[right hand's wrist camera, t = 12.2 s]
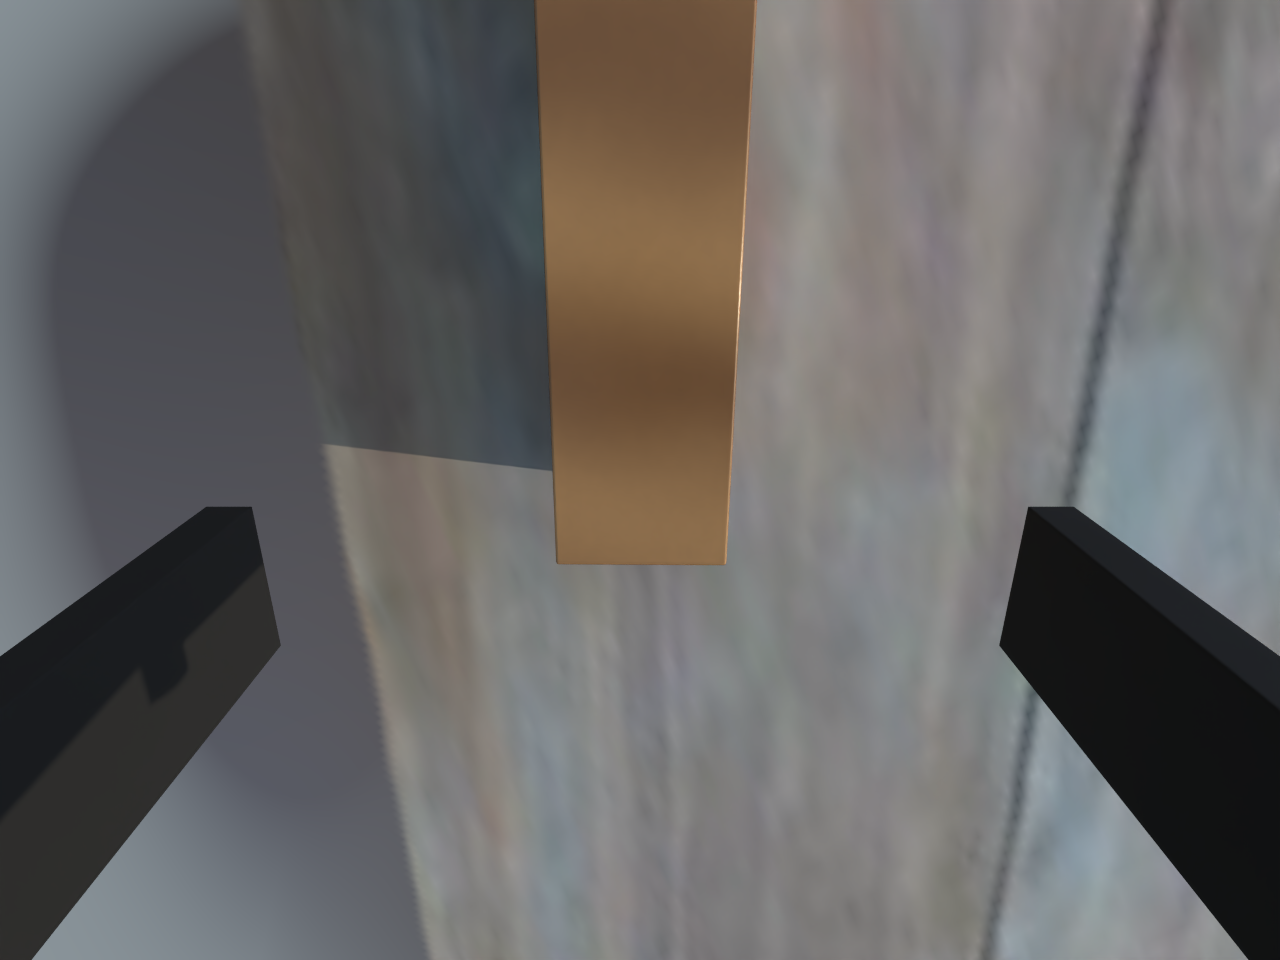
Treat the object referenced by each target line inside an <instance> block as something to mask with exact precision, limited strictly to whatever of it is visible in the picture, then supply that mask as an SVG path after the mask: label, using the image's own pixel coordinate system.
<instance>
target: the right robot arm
mask: <svg viewBox="0 0 1280 960" xmlns="http://www.w3.org/2000/svg"><path fill="white" fill-rule="evenodd" d="M999 646H1000V647H1001V648H1002V649H1003V651H1004V652H1005V653H1006V654H1007V656H1008V657H1009V658H1010V660H1011V661H1012V662H1013V663H1014V665H1015V666H1016V667H1017V668H1018V670H1019V671H1020V672H1021V673H1022V675H1023V676H1024V677H1025V678H1026V680H1027V681H1028V682H1029V683H1030V685H1031V686H1032V687H1033V689H1034V690H1035V691H1036V692H1037V694H1038V695H1039V696H1040V697H1041V699H1042V700H1043V701H1044V702H1045V704H1046V705H1047V706H1048V707H1049V709H1050V710H1051V711H1052V713H1053V714H1054V715H1055V716H1056V718H1057V719H1058V720H1059V721H1060V723H1061V724H1062V725H1063V726H1064V728H1065V729H1066V730H1067V731H1068V733H1069V734H1070V735H1071V736H1072V738H1073V739H1074V740H1075V742H1076V743H1077V744H1078V745H1079V747H1080V748H1081V749H1082V750H1083V752H1084V753H1085V754H1086V755H1087V757H1088V758H1089V759H1090V760H1091V762H1092V763H1093V764H1094V765H1095V767H1096V768H1097V769H1098V771H1099V772H1100V773H1101V774H1102V776H1103V777H1104V778H1105V779H1106V781H1107V782H1108V783H1109V784H1110V786H1111V787H1112V788H1113V789H1114V791H1115V792H1116V793H1117V794H1118V796H1119V797H1120V798H1121V800H1122V801H1123V802H1124V803H1125V805H1126V806H1127V807H1128V808H1129V810H1130V811H1131V812H1132V813H1133V815H1134V816H1135V817H1136V818H1137V820H1138V821H1139V822H1140V823H1141V825H1142V826H1143V827H1144V829H1145V830H1146V831H1147V832H1148V834H1149V835H1150V836H1151V837H1152V839H1153V840H1154V841H1155V842H1156V844H1157V845H1158V846H1159V847H1160V849H1161V850H1162V851H1163V853H1164V854H1165V855H1166V856H1167V858H1168V859H1169V860H1170V861H1171V863H1172V864H1173V865H1174V866H1175V868H1176V869H1177V870H1178V871H1179V873H1180V874H1181V875H1182V876H1183V878H1184V879H1185V880H1186V882H1187V883H1188V884H1189V885H1190V887H1191V888H1192V889H1193V890H1194V892H1195V893H1196V894H1197V895H1198V897H1199V898H1200V899H1201V900H1202V902H1203V903H1204V904H1205V905H1206V907H1207V908H1208V909H1209V911H1210V912H1211V913H1212V914H1213V916H1214V917H1215V918H1216V919H1217V921H1218V922H1219V923H1220V924H1221V926H1222V927H1223V928H1224V929H1225V931H1226V932H1227V933H1228V934H1229V936H1230V937H1231V938H1232V940H1233V941H1234V942H1235V943H1236V945H1237V946H1238V947H1239V948H1240V950H1241V951H1242V952H1243V953H1244V955H1245V956H1246V957H1247V958H1248V960H1280V656H1279V655H1277V654H1276V653H1274V652H1273V651H1272V650H1270V649H1269V648H1267V647H1266V646H1265V645H1263V644H1262V643H1261V642H1259V641H1258V640H1256V639H1255V638H1254V637H1252V636H1251V635H1250V634H1248V633H1247V632H1245V631H1244V630H1243V629H1241V628H1240V627H1239V626H1237V625H1236V624H1234V623H1233V622H1232V621H1230V620H1229V619H1228V618H1226V617H1225V616H1223V615H1222V614H1221V613H1219V612H1218V611H1217V610H1215V609H1214V608H1212V607H1211V606H1210V605H1208V604H1207V603H1205V602H1204V601H1203V600H1201V599H1200V598H1199V597H1197V596H1196V595H1194V594H1193V593H1192V592H1190V591H1189V590H1188V589H1186V588H1185V587H1183V586H1182V585H1181V584H1179V583H1178V582H1177V581H1175V580H1174V579H1172V578H1171V577H1170V576H1168V575H1167V574H1166V573H1164V572H1163V571H1161V570H1160V569H1159V568H1157V567H1156V566H1154V565H1153V564H1152V563H1150V562H1149V561H1148V560H1146V559H1145V558H1143V557H1142V556H1141V555H1139V554H1138V553H1137V552H1135V551H1134V550H1132V549H1131V548H1130V547H1128V546H1127V545H1126V544H1124V543H1123V542H1121V541H1120V540H1119V539H1117V538H1116V537H1115V536H1113V535H1112V534H1110V533H1109V532H1108V531H1106V530H1105V529H1103V528H1102V527H1101V526H1099V525H1098V524H1097V523H1095V522H1094V521H1092V520H1091V519H1090V518H1088V517H1087V516H1086V515H1084V514H1083V513H1081V512H1080V511H1079V510H1077V509H1076V508H1075V507H1028V511H1027V516H1026V520H1025V525H1024V530H1023V535H1022V540H1021V544H1020V549H1019V554H1018V559H1017V563H1016V568H1015V573H1014V578H1013V583H1012V587H1011V592H1010V597H1009V602H1008V606H1007V611H1006V616H1005V621H1004V626H1003V630H1002V635H1001V640H1000V645H999ZM279 647H280V640H279V635H278V631H277V626H276V621H275V616H274V611H273V606H272V602H271V597H270V592H269V587H268V583H267V578H266V573H265V568H264V563H263V559H262V554H261V549H260V545H259V540H258V535H257V530H256V525H255V520H254V516H253V511H252V507H205V508H204V509H203V510H201V511H200V512H199V513H197V514H196V515H194V516H193V517H192V518H190V519H189V520H188V521H186V522H185V523H183V524H182V525H181V526H179V527H178V528H177V529H175V530H174V531H172V532H171V533H170V534H168V535H167V536H165V537H164V538H163V539H161V540H160V541H159V542H157V543H156V544H154V545H153V546H152V547H150V548H149V549H148V550H146V551H145V552H143V553H142V554H141V555H139V556H138V557H137V558H135V559H134V560H132V561H131V562H130V563H128V564H127V565H126V566H124V567H123V568H121V569H120V570H119V571H117V572H116V573H115V574H113V575H112V576H110V577H109V578H108V579H106V580H105V581H103V582H102V583H101V584H99V585H98V586H97V587H95V588H94V589H92V590H91V591H90V592H88V593H87V594H86V595H84V596H83V597H81V598H80V599H79V600H77V601H76V602H75V603H73V604H72V605H70V606H69V607H68V608H66V609H65V610H64V611H62V612H61V613H59V614H58V615H57V616H55V617H54V618H52V619H51V620H50V621H48V622H47V623H46V624H44V625H43V626H41V627H40V628H39V629H37V630H36V631H35V632H33V633H32V634H30V635H29V636H28V637H26V638H25V639H24V640H22V641H21V642H19V643H18V644H17V645H15V646H14V647H13V648H11V649H10V650H8V651H7V652H6V653H4V654H3V655H2V656H0V960H32V958H33V957H34V956H35V955H36V953H37V952H38V951H39V950H40V948H41V947H42V946H43V945H44V943H45V942H46V941H47V939H48V938H49V937H50V936H51V934H52V933H53V932H54V931H55V929H56V928H57V927H58V926H59V924H60V923H61V922H62V921H63V919H64V918H65V917H66V916H67V914H68V913H69V912H70V911H71V909H72V908H73V907H74V905H75V904H76V903H77V902H78V900H79V899H80V898H81V897H82V895H83V894H84V893H85V892H86V890H87V889H88V888H89V887H90V885H91V884H92V883H93V882H94V880H95V879H96V878H97V876H98V875H99V874H100V873H101V871H102V870H103V869H104V868H105V866H106V865H107V864H108V863H109V861H110V860H111V859H112V858H113V856H114V855H115V854H116V853H117V851H118V850H119V849H120V847H121V846H122V845H123V844H124V842H125V841H126V840H127V839H128V837H129V836H130V835H131V834H132V832H133V831H134V830H135V829H136V827H137V826H138V825H139V823H140V822H141V821H142V820H143V818H144V817H145V816H146V815H147V813H148V812H149V811H150V810H151V808H152V807H153V806H154V804H155V803H156V802H157V801H158V799H159V798H160V797H161V796H162V794H163V793H164V792H165V791H166V789H167V788H168V787H169V786H170V784H171V783H172V782H173V781H174V779H175V778H176V777H177V776H178V774H179V773H180V772H181V770H182V769H183V768H184V767H185V765H186V764H187V763H188V762H189V760H190V759H191V758H192V757H193V755H194V754H195V753H196V752H197V750H198V749H199V748H200V746H201V745H202V744H203V743H204V742H205V740H206V739H207V738H208V736H209V735H210V734H211V733H212V731H213V730H214V729H215V728H216V726H217V725H218V724H219V723H220V721H221V720H222V719H223V718H224V716H225V715H226V714H227V712H228V711H229V710H230V709H231V707H232V706H233V705H234V704H235V702H236V701H237V700H238V699H239V697H240V696H241V695H242V694H243V692H244V691H245V690H246V689H247V687H248V686H249V685H250V683H251V682H252V681H253V680H254V678H255V677H256V676H257V675H258V673H259V672H260V671H261V670H262V668H263V667H264V666H265V664H266V663H267V662H268V661H269V660H270V658H271V657H272V656H273V654H274V653H275V652H276V651H277V649H278V648H279Z"/></svg>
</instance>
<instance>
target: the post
mask: <svg viewBox="0 0 1280 960" xmlns="http://www.w3.org/2000/svg"><path fill="white" fill-rule="evenodd" d="M756 10H757V0H534V13H535V39H536V64H537V89H538V114H539V140H540V165H541V190H542V215H543V241H544V266H545V291H546V316H547V341H548V367H549V392H550V417H551V442H552V468H553V493H554V518H555V543H556V562H557V564H619V565H725V564H726V557H727V539H728V520H729V502H730V484H731V466H732V447H733V429H734V411H735V393H736V374H737V356H738V338H739V320H740V302H741V283H742V265H743V247H744V229H745V210H746V192H747V174H748V156H749V137H750V119H751V101H752V83H753V64H754V46H755V28H756Z"/></svg>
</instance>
